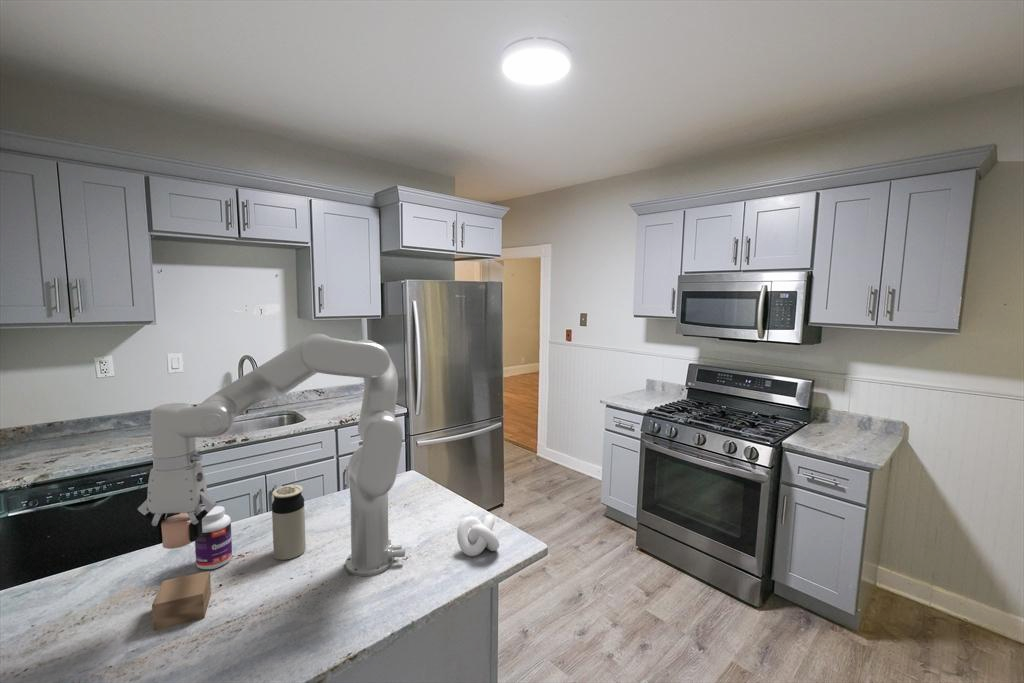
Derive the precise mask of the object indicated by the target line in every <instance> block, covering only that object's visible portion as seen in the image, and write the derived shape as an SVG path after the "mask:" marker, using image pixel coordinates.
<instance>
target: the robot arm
mask: <svg viewBox="0 0 1024 683" xmlns="http://www.w3.org/2000/svg"><path fill="white" fill-rule="evenodd" d="M392 360H393V359H392V358H391V357H390V354H389V352H388V350H387V348H385V347H384V346H383V345H381V344H379V343H377V342H375V341H373V340H370V339H359V340H356V341H355V340H346V339H340V338H336V337H335V338H334V337H330V336H329V335H326V334H323V333H313V334H309V336H306V337H304V338H303V339H302V340H300V341H298V342H296V343H295V344H294V345H291V346H290V347H289V348H287V349H285V350H284V351H282V352H281V353H279V354H277V355H276V356H275V357H273V358H271V359H270V360H268V361H266V362H264V363H262V364H261V365H259V366H257V367H256V368H254V369H253V370H251V371H249V372H248V373H246V374H245V375H242V376H241V377H239V378H237V379H236V380H234V381H233V382H231V383H229V384H227V385H226V386H225V387H222V388H221V389H219V390H217V392H215V393H213V394H211V395H210V396H208V397H207V398H205V399H204V400H203V401H202V402H201V404H200V405H198V406H192V405H191V404H189V403H186V402H176V403H175V402H174V403H173V402H172V403H165V404H160V405H158V406H155V407H154V408H152V410H151V412H150V414H149V415H150V433H151V452H152V462H153V463H152V465H153V466H152V468H150V472H149V476H148V480H147V481H148V483H147V497H146V500H145V501H144V502H143V503H142V504H141V505H139V507H137V511H138V512H140V513H141V514H142V515H144V516H145V518H146V519H147V520H149V521H150V522H151V525H152V527H154V529H155V530H154V531H155V532H154V533H155V538H156V544H161V543H162V528H161V523H162V521H163V520H165V519H167V515H168V514H183V513H187V514H188V516H189V518H190V520H191V522H192V523H191V524H190V525H189V532H190V541H191V542H192V543H195V540H196V539H197V538H198V537H200V536H201V534H202V519H203V518H204V517H205V516H206V515H207V514H208V513H209V512H210V511H211V510H212V509H213V508H214V507H215V506H218V505H217V504H218V503H217V502H216V501H215V500H214V499H212V498H211V497H210V496H209V495H208V487H207V480H206V476H205V472H204V468H203V465H202V463H201V461H202V460H203V455H202V454H199V453H198V452H197V449H196V448H197V446H196V438H203V439H204V438H206V439H209V438H210V439H211V438H218V437H221V436H224V435H225V434H227V433H228V432H229V431H230V430H231V429H232V427H233V425H234V422H235V418H236V417H238V416H239V415H242V413H245V412H246V411H247V410H249V409H250V408H252V407H254V406H255V405H257V404H260V403H261V402H263V401H265V400H268V399H271V398H277V397H280V396H283V395H285V394H287V393H289V392H291V391H292V390H293V389H295V388H296V387H298V386H299V385H300V384H302V383H303V382H306V381H307V380H308V379H310V378H311V377H313V376H314V375H316V374H318V373H319V374H323V375H324V374H325V375H330V376H340V377H341V376H342V377H351V378H360V379H361V378H363V381H364V382H363V383H364V389H363V390H364V391H363V397H362V403H361V409H360V414H359V419H358V424H357V431H358V432H357V433H358V434H359V437H360V438H361V440H362V446H361V447H359V448H357V449H356V450H355V451H354V452H353V453H352V455H351V456H350V458H349V461H348V465H347V466H348V467H347V469H348V470H347V471H348V474H347V475H348V482H349V496H350V497H349V498H350V503H349V504H350V546H351V547H350V550H351V551H350V552H351V553H350V554H349V555H348V556H347V557H346V560H345V569H346V571H347V572H348V573H349V574H351V575H354V576H359V577H368V576H375V575H377V574H380V573H383V572H386V570H388V569H390V567H391V566H392V565H393V564H394V562H395V558H404V557H405V556H406V549H405V548H403V546H402V544H401V545H398V544H397V545H393V544H392V540H391V539H389V491H390V490H391V489H392V488H393V487H394V484H395V481H396V479H397V475H398V470H399V464H400V457H401V454H402V447H403V438H404V437H403V436H404V435H403V427H402V424H401V422H400V421H399V420H398V419H397V418H396V407H397V398H398V389H399V376H398V373H397V369H396V366H395V364H394V362H393V361H392ZM201 505H204V507H205V508H203V509H202V508H201ZM202 510H203V511H202Z"/></svg>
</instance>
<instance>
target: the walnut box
mask: <svg viewBox="0 0 1024 683" xmlns="http://www.w3.org/2000/svg"><path fill="white" fill-rule="evenodd" d="M211 596H212V584H211V571H210V570H207V571H202V572H198V573H194V574H193V573H192V574H189V575H188V574H187V575H185V576H179V577H174V578H169V579H164V580H162V582H161V585H160V586H159V589H158V591H157V593H156V595H155V598H154V599H153V601H152V604H151V611H152V614H151V615H152V624H153V625H152V628H153V629H152V630H153V631H158V630H162V629H165V628H166V629H167V628H170V627H173V626H179V625H182V624H183V625H184V624H186V623H192V622H194V621H198V620H202V619H205V617H206V613H207V610H208V607H209V602H210V600H211Z"/></svg>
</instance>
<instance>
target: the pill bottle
mask: <svg viewBox="0 0 1024 683" xmlns="http://www.w3.org/2000/svg"><path fill="white" fill-rule="evenodd" d="M203 510H204V509H202V511H203ZM225 511H226V510H225V507H224V506H222V505H216V506H215V507H214V508H213V509H212V510H211V511H210V512H209V513H208V514H207V515H206V516H205V517H204V518H203V519H202V534H201V536H200V537H198V538H197V539H196V540H195V541H194V546H195V547H194V548H195V549H194V550H195V565H196V567H197V568H199V569H201V570H213V569H217V568H220V567H223V566H224V565H225V564H227V563H228V562H230V560H231V559H232V557H233V543H232V542H233V541H232V539H233V538H232V523H231V522H232V520H231V517H230V516H229V515H228V514H225V513H226V512H225Z"/></svg>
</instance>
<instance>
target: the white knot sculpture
mask: <svg viewBox="0 0 1024 683" xmlns="http://www.w3.org/2000/svg"><path fill="white" fill-rule="evenodd" d="M494 526H495V517H494V515H493V514H486V515H485V516H484V517H483V518H481V520H480V519H478V518H477V517H475V516H466V517H464V518H463V519H462V520H461V521H460V522H459V524H458V527H457V533H456V538H457V542H458V547H459V548H460V550H461V551H462V552H463V553H464V555H466V556H469V557H476V556H479V555H481V553H482V552H483V551H484V550H485V548H486V549H487V550H488V551H491V552H496V551H497V550H498V549H499V547H500V541H499V538H498V537H497V535H495V534H496V533H494V531H493V528H494Z"/></svg>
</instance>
